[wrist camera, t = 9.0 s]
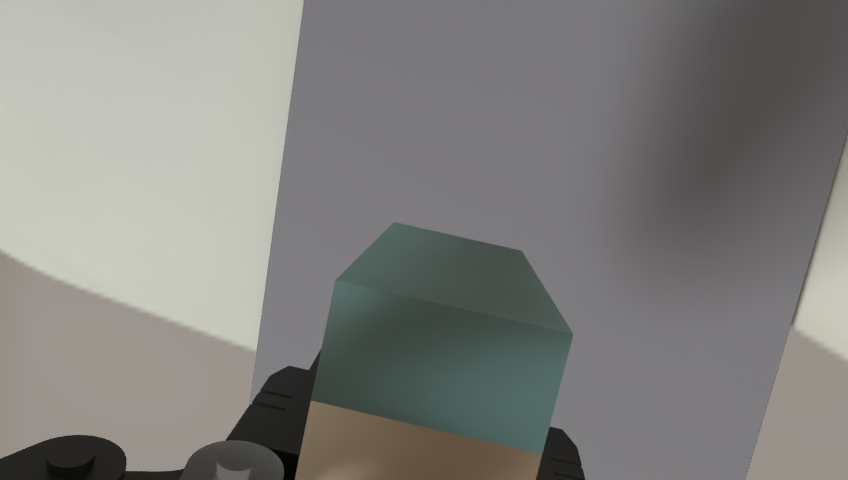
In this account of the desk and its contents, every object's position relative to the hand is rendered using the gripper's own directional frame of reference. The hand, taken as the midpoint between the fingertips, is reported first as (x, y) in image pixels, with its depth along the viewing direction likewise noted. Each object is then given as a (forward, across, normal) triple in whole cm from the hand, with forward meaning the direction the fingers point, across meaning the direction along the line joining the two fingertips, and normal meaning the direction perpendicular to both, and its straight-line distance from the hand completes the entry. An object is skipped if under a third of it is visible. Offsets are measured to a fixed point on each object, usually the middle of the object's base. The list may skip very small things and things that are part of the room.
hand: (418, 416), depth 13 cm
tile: (-2, 0, +7) cm, 7 cm away
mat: (+13, -3, -1) cm, 14 cm away
